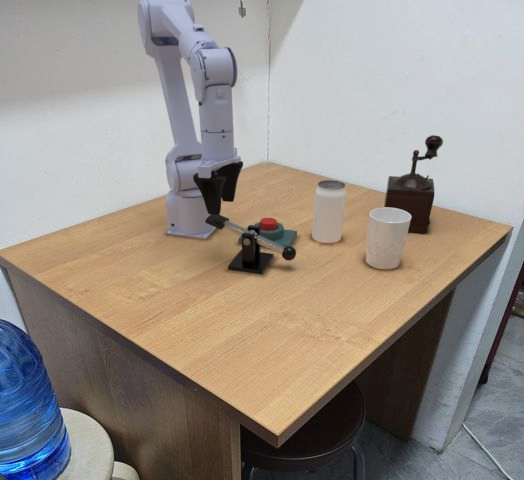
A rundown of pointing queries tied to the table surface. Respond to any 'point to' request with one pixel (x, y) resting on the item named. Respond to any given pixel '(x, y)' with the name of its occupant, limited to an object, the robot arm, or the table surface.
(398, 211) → the white cup
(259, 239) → the lever
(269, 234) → the button block
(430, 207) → the brown coffee grinder
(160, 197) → the table surface
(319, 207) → the can
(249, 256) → the bracket
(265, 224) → the button
